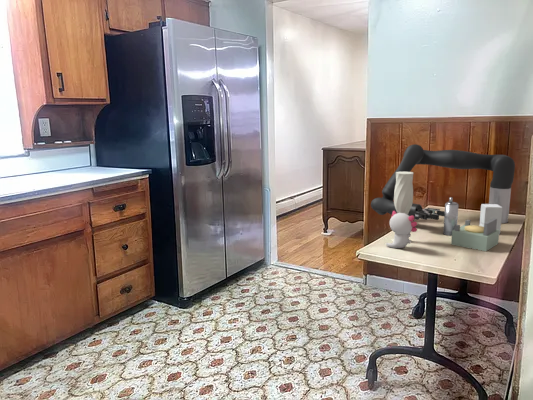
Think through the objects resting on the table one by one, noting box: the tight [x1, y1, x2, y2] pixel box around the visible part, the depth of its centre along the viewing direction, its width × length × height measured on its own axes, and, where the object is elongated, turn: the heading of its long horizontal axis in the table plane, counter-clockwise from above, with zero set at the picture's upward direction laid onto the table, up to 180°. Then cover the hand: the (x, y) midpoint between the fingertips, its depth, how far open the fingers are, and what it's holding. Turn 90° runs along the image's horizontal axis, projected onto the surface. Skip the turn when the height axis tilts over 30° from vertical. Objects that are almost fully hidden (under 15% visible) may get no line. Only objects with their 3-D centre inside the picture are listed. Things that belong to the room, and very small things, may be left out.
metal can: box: [442, 196, 459, 237], centre depth 200 cm, size 6×6×17 cm
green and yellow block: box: [450, 218, 500, 252], centre depth 186 cm, size 14×14×11 cm
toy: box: [384, 211, 418, 249], centre depth 181 cm, size 14×8×15 cm, turn 29°
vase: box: [390, 171, 414, 243], centre depth 190 cm, size 9×8×30 cm
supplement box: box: [478, 203, 502, 235], centre depth 203 cm, size 7×7×13 cm
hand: (442, 215), depth 203 cm, fingers open, 8 cm apart
